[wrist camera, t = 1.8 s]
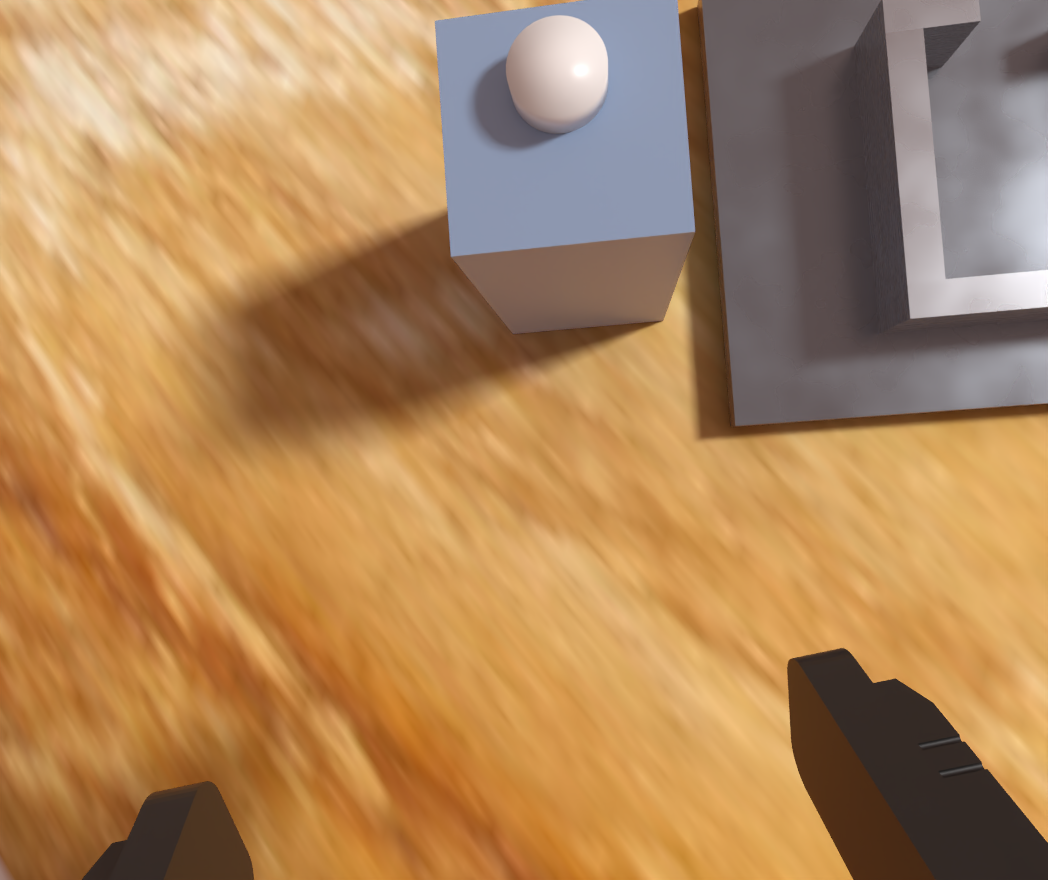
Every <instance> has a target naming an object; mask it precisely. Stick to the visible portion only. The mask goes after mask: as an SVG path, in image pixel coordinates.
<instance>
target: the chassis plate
mask: <svg viewBox="0 0 1048 880" xmlns="http://www.w3.org/2000/svg"><path fill="white" fill-rule="evenodd" d="M697 7H698V20H699V32H700V45H701V58H702V71H703V83H704V96H705V109H706V121H707V134H708V147H709V160H710V172H711V185H712V198H713V210H714V223H715V236H716V248H717V261H718V274H719V287H720V299H721V312H722V325H723V337H724V350H725V363H726V376H727V388H728V401H729V414H730V426H731V427H741V426H755V425H769V424H782V423H796V422H810V421H823V420H837V419H851V418H864V417H878V416H892V415H905V414H919V413H933V412H947V411H960V410H974V409H988V408H1001V407H1015V406H1029V405H1042V404H1048V0H698V5H697Z"/></svg>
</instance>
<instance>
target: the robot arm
mask: <svg viewBox="0 0 1048 880" xmlns="http://www.w3.org/2000/svg"><path fill="white" fill-rule="evenodd" d="M787 671H788V690H789V709H790V727H791V742H792V749H793V753H794V758H795V761H796V765H797V768H798V771H799V774H800V776H801V779H802V781H803V784H804V786H805V788H806V790H807V792H808V794H809V796H810V798H811V800H812V802H813V804H814V805H815V807H816V809H817V811H818V813H819V815H820V817H821V819H822V821H823V823H824V824H825V826H826V828H827V830H828V832H829V834H830V836H831V838H832V840H833V842H834V843H835V845H836V847H837V849H838V851H839V853H840V855H841V857H842V859H843V861H844V863H845V864H846V866H847V868H848V870H849V872H850V874H851V876H852V878H853V880H1048V843H1047V841H1046V840H1045V839H1044V838H1043V837H1042V835H1041V834H1040V833H1039V832H1038V830H1037V829H1036V828H1035V827H1034V826H1033V824H1032V823H1031V822H1030V821H1029V819H1028V818H1027V817H1026V816H1025V815H1024V813H1023V812H1022V811H1021V810H1020V808H1019V807H1018V806H1017V805H1016V804H1015V802H1014V801H1013V800H1012V799H1011V797H1010V796H1009V795H1008V794H1007V793H1006V791H1005V790H1004V789H1003V788H1002V786H1001V785H1000V784H999V783H998V782H997V780H996V779H995V778H994V777H993V775H992V774H991V773H990V772H989V771H988V769H984V768H983V766H982V762H981V761H980V760H979V758H978V757H977V756H976V755H975V753H974V752H973V751H972V750H971V749H970V747H969V746H968V745H967V744H966V742H962V741H961V739H960V736H959V734H958V733H957V731H956V730H955V729H954V728H953V727H952V725H951V724H950V723H949V722H948V720H947V719H946V718H945V717H944V716H943V714H942V713H941V712H940V711H939V709H938V708H937V707H936V706H935V705H934V703H933V702H931V701H929V700H928V699H926V698H925V697H923V696H922V695H920V694H919V693H917V692H916V691H914V690H912V689H911V688H909V687H908V686H906V685H905V684H903V683H902V682H900V681H898V680H897V679H892V680H887V681H882V682H877V683H873V682H872V681H871V680H870V678H869V677H868V676H867V674H866V673H865V672H864V670H863V669H862V668H861V666H860V665H859V664H858V662H857V661H856V659H855V658H854V657H853V656H852V654H851V653H850V652H849V651H848V650H846V649H844V648H840V649H836V650H831V651H826V652H821V653H816V654H811V655H807V656H802V657H797V658H792V659H790V660H789V662H788V667H787ZM82 880H254V877H253V868H252V863H251V859H250V856H249V854H248V851H247V849H246V847H245V845H244V843H243V841H242V839H241V836H240V834H239V832H238V830H237V828H236V826H235V824H234V822H233V819H232V817H231V815H230V813H229V811H228V809H227V807H226V805H225V802H224V800H223V798H222V796H221V794H220V792H219V790H218V788H217V787H216V786H215V784H213V783H212V782H209V781H207V782H202V783H197V784H192V785H187V786H182V787H177V788H173V789H168V790H163V791H158V792H154V793H152V794H151V795H149V796H148V797H147V799H146V800H145V802H144V804H143V805H142V808H141V810H140V812H139V814H138V817H137V819H136V821H135V823H134V826H133V828H132V830H131V832H130V835H129V837H128V839H127V840H125V841H120V842H115V843H112V844H111V845H110V846H109V848H108V849H107V850H106V851H105V852H104V854H103V855H102V856H101V857H100V858H99V860H98V861H97V862H96V863H95V864H94V866H93V867H92V868H91V869H90V870H89V872H88V873H87V874H86V875H85V876H84V878H83V879H82Z"/></svg>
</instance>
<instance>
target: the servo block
mask: <svg viewBox="0 0 1048 880" xmlns="http://www.w3.org/2000/svg"><path fill="white" fill-rule="evenodd" d="M435 29H436V44H437V58H438V73H439V88H440V103H441V118H442V133H443V148H444V163H445V178H446V193H447V208H448V222H449V237H450V252H451V257H452V259H453V260H454V261H455V262H456V264H457V265H458V266H459V267H460V269H461V270H462V271H463V272H464V274H465V275H466V276H467V277H468V279H469V280H470V281H471V282H472V284H473V285H474V286H475V287H476V289H477V290H478V291H479V292H480V294H481V295H482V296H483V297H484V299H485V300H486V301H487V302H488V304H489V305H490V306H491V307H492V309H493V310H494V311H495V312H496V314H497V315H498V316H499V317H500V319H501V320H502V321H503V322H504V324H505V325H506V326H507V327H508V329H509V330H510V331H511V332H512V334H519V333H531V332H542V331H553V330H564V329H576V328H587V327H598V326H609V325H620V324H632V323H643V322H654V321H663V320H664V317H665V314H666V311H667V309H668V306H669V303H670V300H671V298H672V295H673V292H674V289H675V287H676V284H677V281H678V278H679V275H680V273H681V270H682V267H683V264H684V262H685V259H686V256H687V253H688V251H689V248H690V245H691V242H692V240H693V237H694V234H695V221H694V208H693V196H692V183H691V170H690V157H689V144H688V131H687V118H686V105H685V93H684V80H683V67H682V54H681V41H680V28H679V15H678V2H677V0H584V1H576V2H569V3H562V4H555V5H547V6H540V7H533V8H525V9H518V10H511V11H504V12H496V13H489V14H482V15H474V16H467V17H460V18H453V19H445V20H438V21H435Z"/></svg>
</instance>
